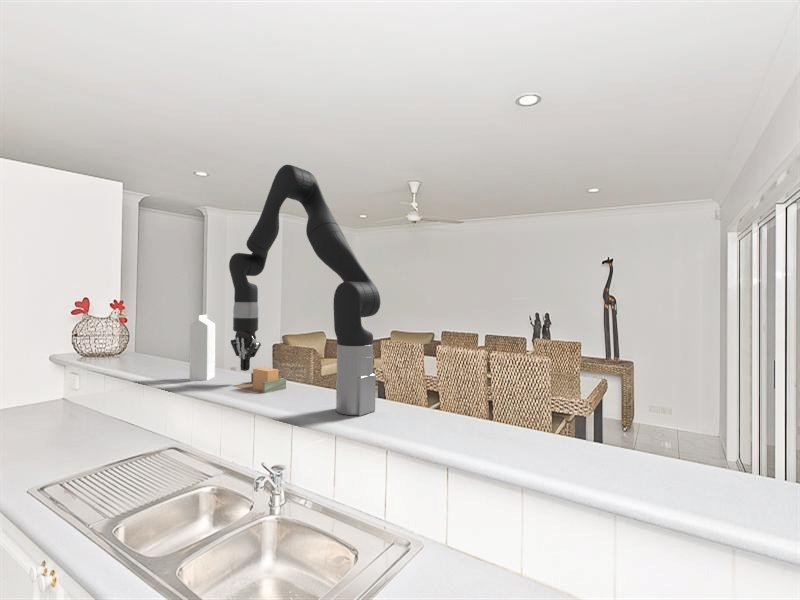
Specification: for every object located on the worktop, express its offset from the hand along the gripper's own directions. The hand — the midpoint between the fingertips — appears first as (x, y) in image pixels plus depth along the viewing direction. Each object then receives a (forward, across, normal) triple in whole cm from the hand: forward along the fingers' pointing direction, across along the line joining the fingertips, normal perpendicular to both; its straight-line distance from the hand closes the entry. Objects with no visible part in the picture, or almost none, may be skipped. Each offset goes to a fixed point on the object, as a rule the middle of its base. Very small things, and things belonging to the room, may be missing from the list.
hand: (244, 370), depth 143 cm
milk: (+5, +19, +3) cm, 20 cm away
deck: (+5, -7, 0) cm, 9 cm away
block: (+4, -10, 0) cm, 11 cm away
